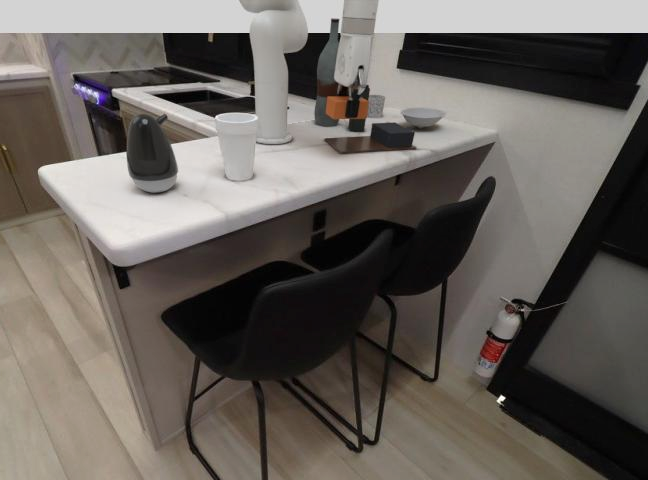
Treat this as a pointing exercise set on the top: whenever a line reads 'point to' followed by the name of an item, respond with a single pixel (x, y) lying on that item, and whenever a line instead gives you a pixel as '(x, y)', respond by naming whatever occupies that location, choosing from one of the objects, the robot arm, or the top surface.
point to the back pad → (392, 135)
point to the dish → (422, 116)
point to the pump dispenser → (150, 154)
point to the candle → (359, 124)
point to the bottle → (327, 77)
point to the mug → (375, 106)
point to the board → (360, 145)
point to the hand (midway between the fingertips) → (346, 113)
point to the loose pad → (344, 107)
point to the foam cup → (237, 143)
